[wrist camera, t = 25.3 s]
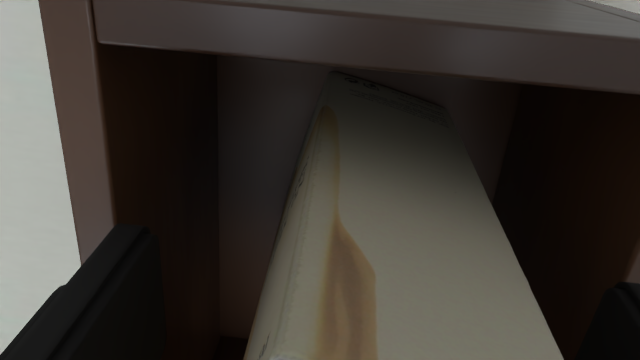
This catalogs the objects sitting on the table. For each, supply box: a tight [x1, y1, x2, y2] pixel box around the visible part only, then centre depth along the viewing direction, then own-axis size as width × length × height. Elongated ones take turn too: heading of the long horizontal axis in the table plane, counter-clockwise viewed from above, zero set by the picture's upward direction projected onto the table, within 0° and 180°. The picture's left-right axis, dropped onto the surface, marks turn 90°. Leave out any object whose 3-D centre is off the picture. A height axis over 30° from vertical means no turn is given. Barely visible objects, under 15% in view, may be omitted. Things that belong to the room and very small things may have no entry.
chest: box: [38, 0, 640, 360], centre depth 15 cm, size 16×12×9 cm
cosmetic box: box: [243, 72, 564, 360], centre depth 12 cm, size 6×4×12 cm
